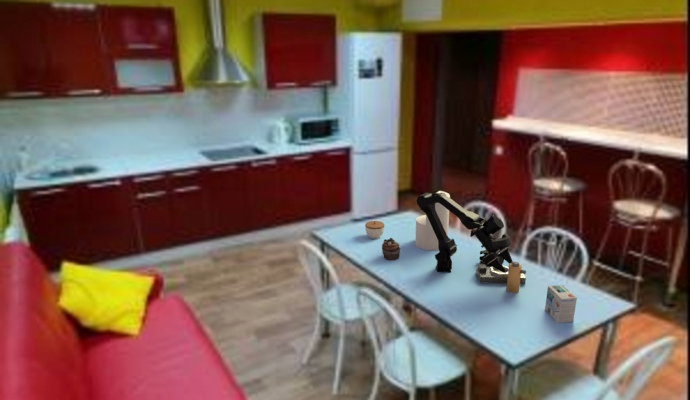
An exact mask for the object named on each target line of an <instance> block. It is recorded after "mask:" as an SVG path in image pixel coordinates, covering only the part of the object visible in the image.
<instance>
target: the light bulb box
mask: <svg viewBox="0 0 690 400" xmlns="http://www.w3.org/2000/svg"><path fill="white" fill-rule="evenodd" d="M545 299H546V300H545V305H544V309H545V311H546V312H547V313H548V314H549V315H550V316H551V318H552V319H553V320H554V321H555V322H556V323H557V324H560V323H563V324H564V323H574V320H575V319H574V318H575V312H576V305H577V299H578V297H577V296H576V295H574V293H573V292H571V291H570V289H568V288H567V287H566V286H565V285H562V284H561V285H560V284H559V285H548V286H547V292H546V298H545Z"/></svg>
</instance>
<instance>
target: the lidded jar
mask: <svg viewBox="0 0 690 400" xmlns="http://www.w3.org/2000/svg"><path fill="white" fill-rule="evenodd" d="M364 227H365V232H366V234H367V236H368V237H369V238H370V239H374V240H375V239H376V240H377V239H380V238H381V237H382V235H383V234H384V231H385V223H384V222H383V221H379V220H371V221H370V220H369V221H367V222H366V223H365V225H364Z"/></svg>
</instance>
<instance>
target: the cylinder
mask: <svg viewBox="0 0 690 400" xmlns="http://www.w3.org/2000/svg"><path fill="white" fill-rule="evenodd" d="M436 193H445V194H446V196H448V197H449V198H450V199H451V196H450V195H451V194H450V193H448V192H446V191H443V190H438V191H437V192H436ZM435 210H436V212H437V215H438V217H439V219H440V221H441V223H442V225H443V228H444V230H445V232H446V234H447V236H448V237H449V220H450V211H449V210H448V209H446V208H445V207H444V206H442V205H441V204H440V203H435ZM414 241H415V242H414V243H415V245H416V247H417V248H419V249H422V250H426V251H439V248H438V239H437V237H436V235H435V233H434V230H433V228H432V226H431V224H430V222H429V220H428V217H427V215H426V214H424V215H423V214H422V215H419V216H418V217H416V219H415V240H414Z"/></svg>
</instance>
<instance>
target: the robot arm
mask: <svg viewBox="0 0 690 400" xmlns="http://www.w3.org/2000/svg"><path fill="white" fill-rule="evenodd" d="M435 203H440V204H441V205H442V206H444V207H445V208H446V209H448V210H449V213H452V214H453V215H454V216H456V217H457V218H458V220H459V221H460V223H461V224H462V225H463V226H464V227H465V228H466V229H467V230H469V231H470V235H469V236H470V238H472V237H474V236H475V237H476V238H477V240H478V242H480V244H481V246H480V247H481V248H482V249H483V248H484V249H485V250H487V251H488V253H487V256H485V257H484V258H483V260H482V262H483V263H484V264H485V265H486V264H487V263H488V264H487V265H490V266H492V267H494V268H496V269H498V270H500V271H502V272H503V273H504V272H506V271H505V269H504V267H503V266H502V265H503V264H501V262H500V261H499V257H497V256H498V255H499V256H500V257H502V258H503V259H504V262H507V263H508V265H509V264H510V263H512V262H514V261H513V259H512V256H511V254H510V249H511V245H512V244H511V243H512V242H511V239H512V238H511V237H510V236H509V235H508V234H507V233H504V234H501V237H500V238H497V237H496V236H495V234H496V233H498V232H499V231H501V230H502V229H504V227H505V225H504V222H503V220H502V219H501V218H499V217H497V216H495V215H494V214H493V215H492V216H490V217H489V218H488V219H487V218H484V217H481V216H480V215H478V214H477V213H475V212H473V211H470V210H468V209H465V208H464V207H462V206H461V205H460V204H459V203H457V202H456V201H454V200H453V199H452V198H451V197H450V198H449V197H448V196H446V194H445V193H437V192H434V193H430V192H424V193H423V194H420V195H418V196H417V199H416V204H417V206H418V207H419V209H420V210H421V211H422V212H424V213H425V215H427V217H428V220H429V222H430V224H431V226H432V228H433V230H434V233H435V235H436V237H437V239H438V248H439V250H438V253H436V254H434V258H435V260H436V266H435V267H436V272H437V273H451V272H452V269H453V261H452V257H453V256H454V255H455V254H456V253H457V250H458V248H457V247H458V245H457V244H456V241H455V239H454V238H450V237H449V235H448V236H447V234H446V232H445V230H444V228H443V225H442V223H441V221H440V219H439V217H438V215H437V212H436V210H435ZM492 235H494V236H492ZM498 253H499V254H498Z"/></svg>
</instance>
